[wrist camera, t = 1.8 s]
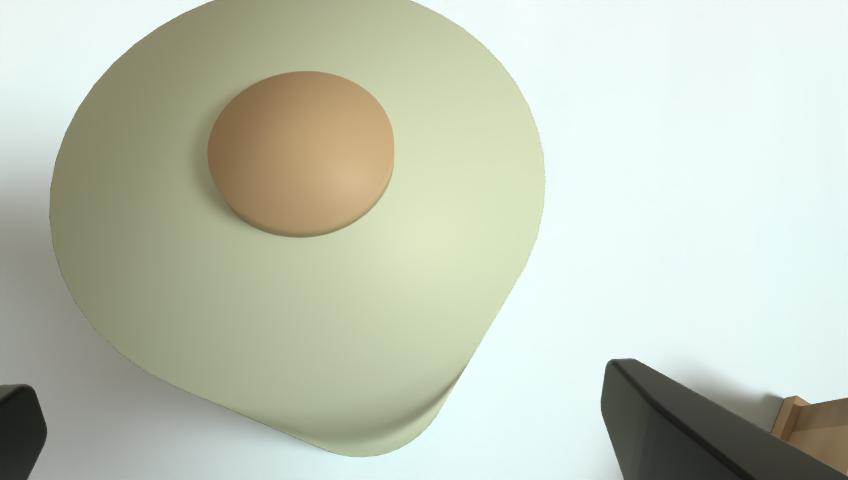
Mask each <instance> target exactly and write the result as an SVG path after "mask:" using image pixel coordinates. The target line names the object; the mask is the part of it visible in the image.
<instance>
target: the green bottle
mask: <svg viewBox="0 0 848 480" xmlns="http://www.w3.org/2000/svg"><path fill="white" fill-rule="evenodd" d="M544 194H545V169H544V155H543V151H542V146H541V142H540V137H539V133H538V129H537V126H536V124H535V121H534V118H533V116H532V113H531V111H530V108H529V106H528V104H527V102H526V100H525V98H524V96H523V95H522V93H521V91H520V89H519V88H518V86H517V84H516V82H515V81H514V80H513V78H512V77H511V76H510V74H509V73H508V72H507V70H506V69H505V68H504V66H503V65H502V64H501V62H500V61H499V60H498V59H497V58H496V57H495V56H494V55H493V54H492V53H491V52H490V51H489V50H488V49H487V48H486V47H485V46H484V45H483V44H482V43H481V42H479V41H478V40H477V39H476V38H474V37H473V36H472V35H471V34H469V33H468V32H467V31H466V30H464V29H463V28H462V27H460V26H458V25H457V24H455V23H454V22H452V21H451V20H449V19H447V18H446V17H444V16H443V15H441V14H439V13H437V12H435V11H433V10H431V9H429V8H427V7H424V6H422V5H420V4H418V3H415V2H413V1H410V0H214V1H211V2H208V3H206V4H203V5H201V6H199V7H197V8H194V9H192V10H190V11H188V12H185V13H183V14H181V15H179V16H178V17H176V18H174V19H172V20H171V21H169V22H167V23H165V24H164V25H162V26H160V27H158V28H157V29H155V30H154V31H153V32H151V33H150V34H148V35H147V36H146V37H144V38H143V39H141V40H140V41H139V42H137V43H136V44H134V45H133V46H132V47H131V48H130V49H129V50H128V51H127V52H125V53H124V54H123V55H122V56H121V57H120V58H119V59H118V60H116V61H115V62H114V63H113V64H112V65H111V67H110V68H109V69H108V70H107V71H106V72H105V73H104V74H103V75H102V77H101V78H100V79H99V80H98V81H97V82H96V83H95V85H94V86H93V87H92V89H91V90H90V92H89V93H88V95H87V96H86V97H85V99H84V100H83V102H82V103H81V105H80V106H79V108H78V110H77V111H76V113H75V115H74V117H73V119H72V121H71V123H70V125H69V127H68V129H67V131H66V133H65V136H64V138H63V141H62V144H61V147H60V150H59V153H58V155H57V158H56V162H55V167H54V172H53V178H52V183H51V188H50V216H49V217H50V225H51V233H52V241H53V247H54V251H55V254H56V257H57V261H58V264H59V267H60V270H61V274H62V276H63V278H64V280H65V282H66V284H67V286H68V288H69V290H70V292H71V294H72V296H73V298H74V300H75V302H76V304H77V305H78V307H79V308H80V309H81V311H82V312H83V313H84V315H85V316H86V318H87V319H88V320H89V322H90V323H91V324H92V326H93V327H94V328H95V330H96V331H97V332H98V333H99V334H100V335H101V336H103V337H104V338H105V339H106V340H107V341H108V342H109V343H110V344H111V345H112V346H113V347H114V348H115V349H116V350H117V351H118V352H119V353H120V354H122V355H123V356H125V357H126V358H127V359H129V360H130V361H132V362H133V363H135V364H136V365H137V366H139V367H140V368H142V369H143V370H145V371H146V372H147V373H149V374H151V375H153V376H155V377H157V378H159V379H162V380H164V381H166V382H168V383H170V384H172V385H174V386H176V387H178V388H180V389H182V390H184V391H187V392H189V393H192V394H194V395H196V396H199V397H201V398H203V399H206V400H208V401H211V402H213V403H215V404H218V405H220V406H222V407H225V408H227V409H230V410H232V411H234V412H237V413H239V414H242V415H244V416H246V417H249V418H251V419H253V420H256V421H258V422H261V423H263V424H265V425H268V426H270V427H272V428H275V429H277V430H280V431H282V432H284V433H287V434H289V435H291V436H294V437H296V438H299V439H301V440H303V441H306V442H308V443H310V444H313V445H315V446H318V447H320V448H322V449H325V450H327V451H330V452H333V453H336V454H339V455H344V456H350V457H371V456H378V455H382V454H386V453H389V452H392V451H394V450H397V449H399V448H401V447H403V446H404V445H406V444H408V443H410V442H411V441H413V440H414V439H415V438H416V437H418V436H419V435H420V434H421V433H422V432H423V431H424V430H425V429H426V428H427V427H428V426H429V425H430V424H431V423H432V421H433V420H434V419H435V417H436V416H437V414H438V413H439V411H440V409H441V408H442V406H443V404H444V403H445V401H446V399H447V398H448V396H449V394H450V393H451V391H452V389H453V387H454V386H455V384H456V382H457V381H458V379H459V377H460V376H461V374H462V372H463V371H464V369H465V367H466V366H467V364H468V362H469V361H470V359H471V357H472V356H473V354H474V352H475V351H476V349H477V347H478V346H479V344H480V342H481V341H482V339H483V337H484V336H485V334H486V332H487V331H488V329H489V327H490V326H491V324H492V322H493V321H494V319H495V317H496V316H497V314H498V312H499V310H500V309H501V307H502V305H503V304H504V302H505V300H506V299H507V297H508V295H509V294H510V292H511V290H512V289H513V287H514V285H515V283H516V282H517V280H518V278H519V276H520V275H521V273H522V271H523V269H524V268H525V266H526V264H527V261H528V259H529V256H530V254H531V251H532V249H533V246H534V243H535V241H536V238H537V235H538V230H539V226H540V222H541V217H542V213H543V208H544Z"/></svg>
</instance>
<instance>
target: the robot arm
mask: <svg viewBox="0 0 848 480" xmlns="http://www.w3.org/2000/svg"><path fill="white" fill-rule="evenodd" d="M601 412H602V416H603V419H604V422H605V425H606V428H607V431H608V434H609V437H610V440H611V443H612V446H613V448H614V451H615V454H616V457H617V460H618V463H619V466H620V469H621V472H622V475H623V478H624V480H848V476H847V475H846V474H844V473H842V472H840V471H838V470H836V469H835V468H833V467H831V466H829V465H827V464H826V463H824V462H822V461H820V460H818V459H816V458H815V457H813V456H811V455H809V454H807V453H805V452H804V451H802V450H800V449H798V448H796V447H795V446H793V445H791V444H789V443H787V442H785V441H784V440H782V439H780V438H778V437H776V436H774V435H773V434H771V433H769V432H767V431H765V430H764V429H762V428H760V427H758V426H756V425H754V424H753V423H751V422H749V421H747V420H745V419H743V418H742V417H740V416H738V415H736V414H734V413H732V412H731V411H729V410H727V409H725V408H723V407H722V406H720V405H718V404H716V403H714V402H712V401H711V400H709V399H707V398H705V397H703V396H701V395H700V394H698V393H696V392H694V391H692V390H691V389H689V388H687V387H685V386H683V385H681V384H680V383H678V382H676V381H674V380H672V379H670V378H669V377H667V376H665V375H663V374H661V373H660V372H658V371H656V370H654V369H652V368H650V367H649V366H647V365H645V364H643V363H641V362H639V361H638V360H636V359H631V358H629V359H612V360H610V361H609V362H608V363H607V365H606V369H605V375H604V382H603V389H602V396H601ZM46 437H47V426H46V423H45V420H44V417H43V414H42V411H41V407H40V404H39V401H38V398H37V395H36V393H35V390H34V389H33V388H32V387H31V386H29V385H27V384H15V385H0V480H27V479H28V477H29V475H30V473H31V471H32V469H33V467H34V465H35V463H36V461H37V459H38V457H39V454H40V452H41V450H42V448H43V446H44V444H45V441H46Z"/></svg>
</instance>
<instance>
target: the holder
mask: <svg viewBox="0 0 848 480" xmlns="http://www.w3.org/2000/svg"><path fill="white" fill-rule="evenodd" d="M771 434H773V435H774V436H776V437H778V438H780V439H782V440H784V441H785V442H787V443H789V444H791V445H793V446H795V447H796V448H798V449H800V450H802V451H804V452H805V453H807V454H809V455H811V456H813V457H815V458H816V459H818V460H820V461H822V462H824V463H826V464H827V465H829V466H831V467H833V468H835V469H836V470H838V471H840V472H842V473H844V474H846V475H847V476H848V398H844V399H838V400H833V401H827V402H822V403H816V404H810V403H808V402H806V401H805V400H803V399H802V398H800V397H798V396H792V397H787V398H785V399H784V402H783V404H782V407H781V409H780V412H779V414H778V417H777V419H776V422H775V424H774V427H773V429H772V432H771Z"/></svg>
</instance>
